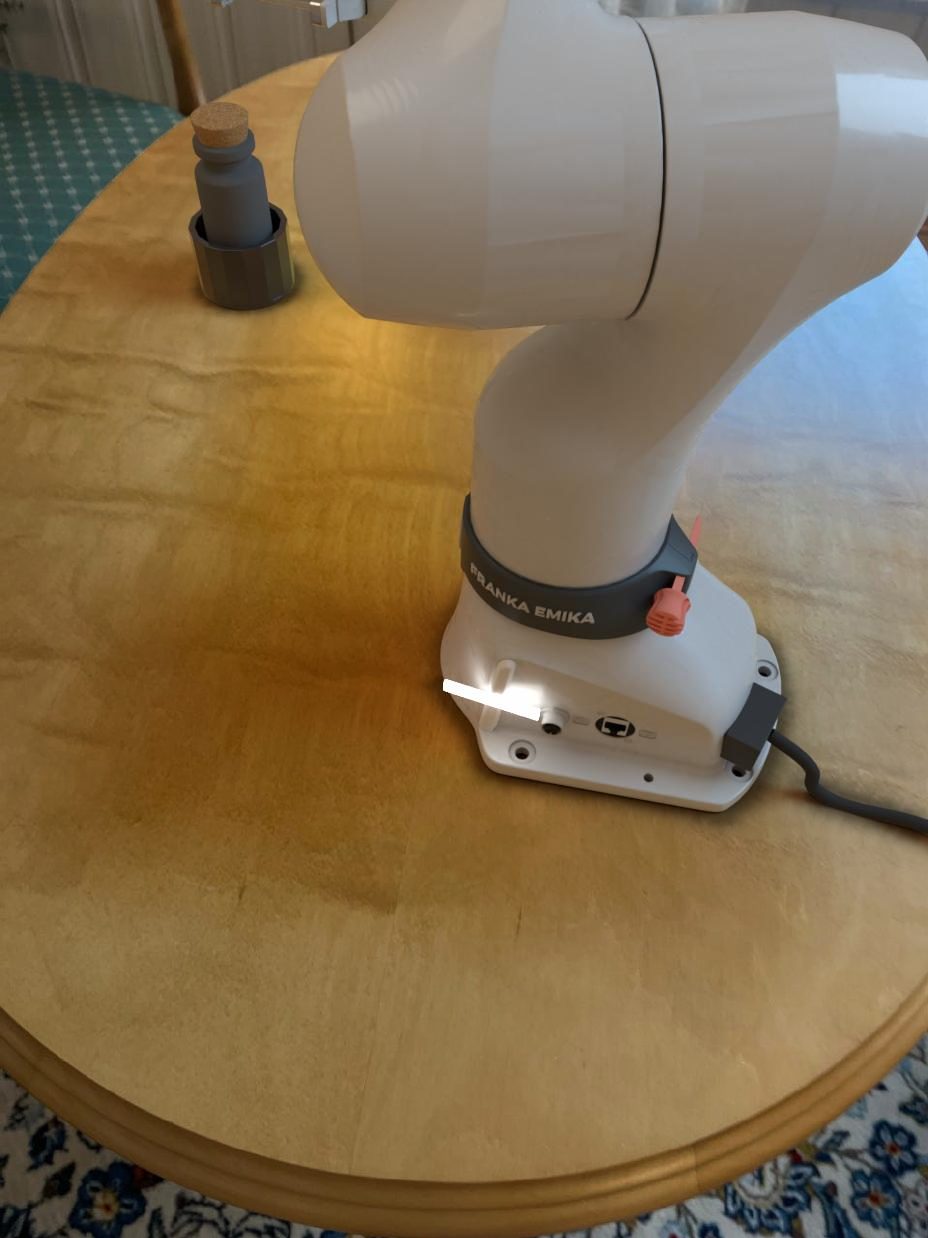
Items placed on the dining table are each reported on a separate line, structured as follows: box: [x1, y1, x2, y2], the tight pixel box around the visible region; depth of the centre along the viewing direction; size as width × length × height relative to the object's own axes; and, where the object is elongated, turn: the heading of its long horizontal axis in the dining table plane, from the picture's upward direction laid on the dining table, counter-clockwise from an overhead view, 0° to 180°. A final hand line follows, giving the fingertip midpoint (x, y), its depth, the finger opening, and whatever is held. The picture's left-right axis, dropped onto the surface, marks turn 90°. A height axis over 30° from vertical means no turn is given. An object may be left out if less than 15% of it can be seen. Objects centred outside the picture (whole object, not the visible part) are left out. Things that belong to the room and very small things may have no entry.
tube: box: [187, 201, 296, 311], centre depth 89 cm, size 9×9×6 cm
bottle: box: [189, 101, 273, 247], centre depth 85 cm, size 6×6×15 cm
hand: (264, 5), depth 77 cm, fingers open, 8 cm apart
